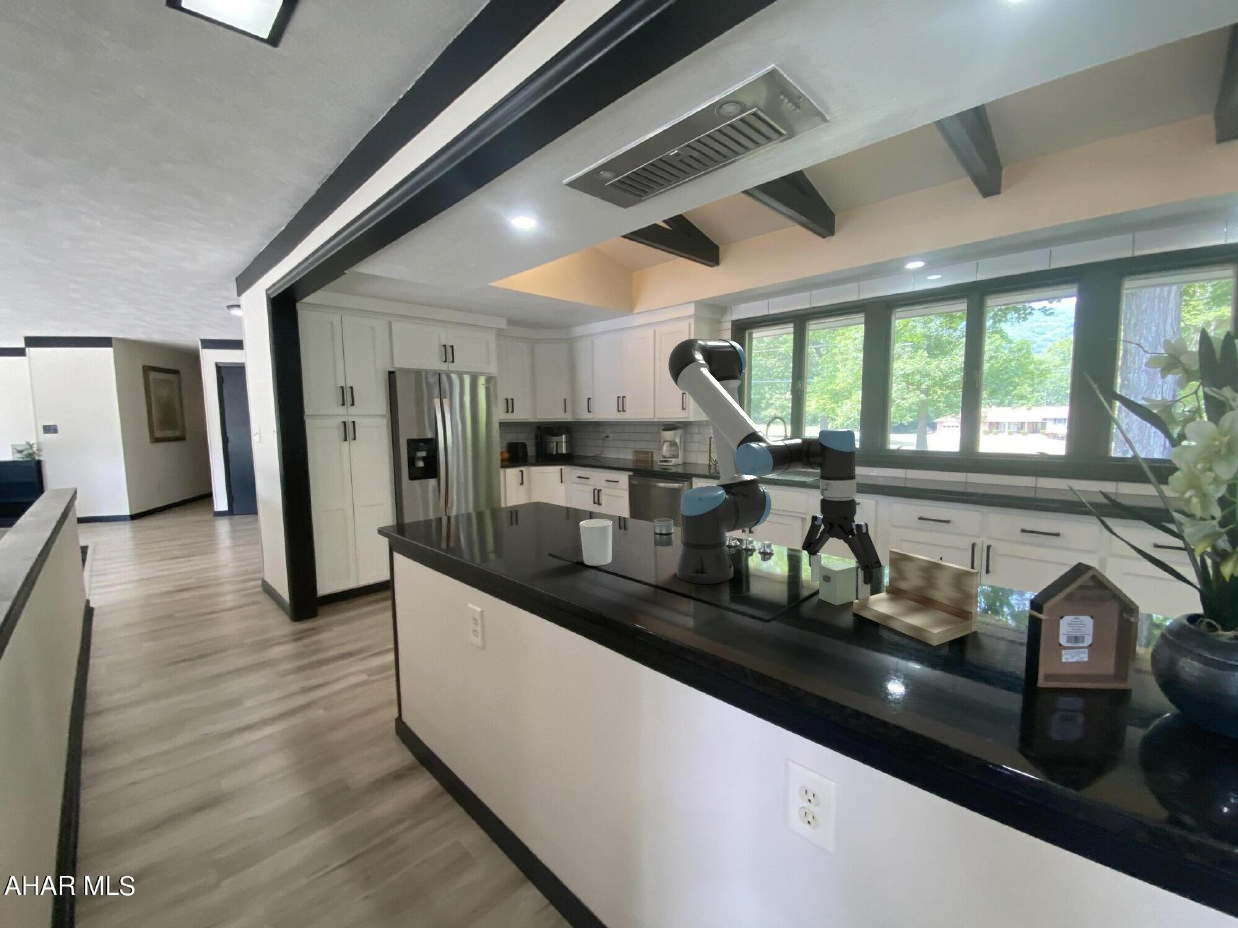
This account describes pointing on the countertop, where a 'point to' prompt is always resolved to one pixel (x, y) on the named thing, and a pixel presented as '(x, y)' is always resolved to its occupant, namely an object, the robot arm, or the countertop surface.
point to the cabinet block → (837, 582)
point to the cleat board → (925, 599)
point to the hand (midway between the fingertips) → (839, 589)
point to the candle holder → (596, 541)
